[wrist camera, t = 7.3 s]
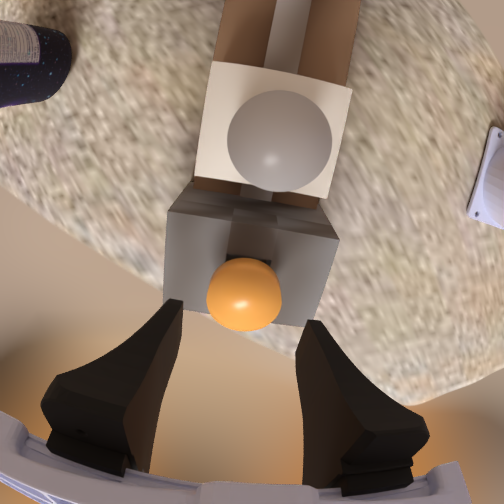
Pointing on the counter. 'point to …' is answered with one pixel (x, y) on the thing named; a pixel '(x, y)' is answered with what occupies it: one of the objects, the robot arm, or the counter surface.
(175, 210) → the rail
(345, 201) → the counter surface
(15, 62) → the beverage can
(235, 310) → the button
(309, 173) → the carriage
